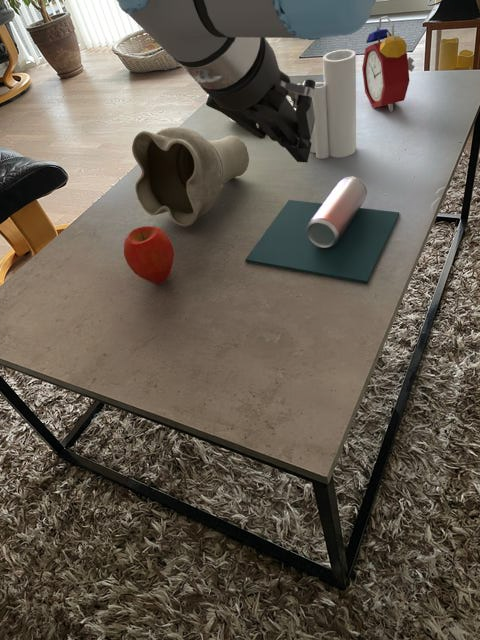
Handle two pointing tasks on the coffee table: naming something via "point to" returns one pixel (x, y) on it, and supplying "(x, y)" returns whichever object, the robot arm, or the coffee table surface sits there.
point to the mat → (337, 261)
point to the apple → (149, 254)
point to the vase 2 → (335, 106)
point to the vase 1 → (185, 171)
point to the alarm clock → (386, 68)
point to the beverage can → (336, 212)
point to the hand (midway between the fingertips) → (304, 152)
